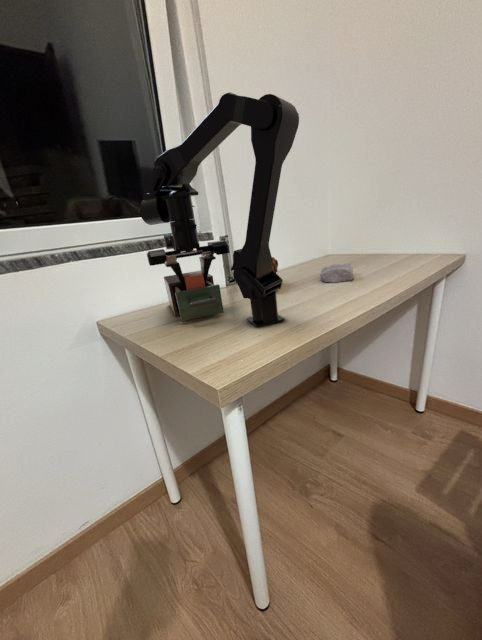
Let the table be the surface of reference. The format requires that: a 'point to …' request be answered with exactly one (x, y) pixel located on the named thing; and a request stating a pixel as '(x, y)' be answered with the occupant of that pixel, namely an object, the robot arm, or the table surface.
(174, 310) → the cabinet
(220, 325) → the table surface
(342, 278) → the stone block
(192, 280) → the block
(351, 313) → the table surface
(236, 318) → the table surface
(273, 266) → the wooden carving
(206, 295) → the drawer
